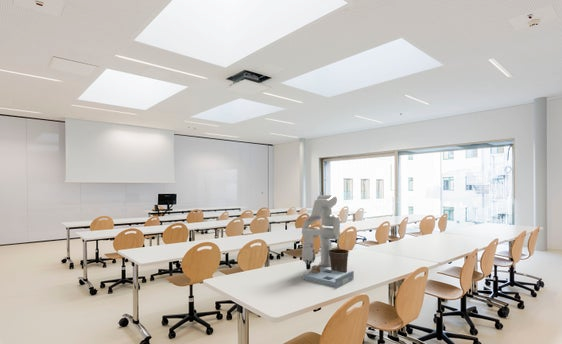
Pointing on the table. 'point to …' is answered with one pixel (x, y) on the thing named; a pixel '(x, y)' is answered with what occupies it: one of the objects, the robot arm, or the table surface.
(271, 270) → the table surface
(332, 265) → the plant pot
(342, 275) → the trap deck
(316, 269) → the walnut cube
